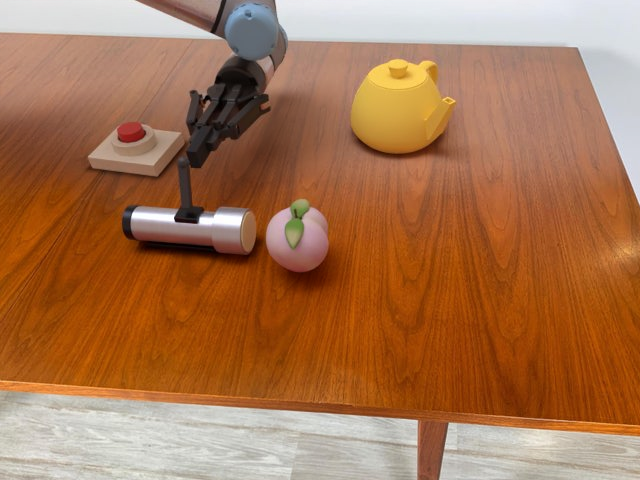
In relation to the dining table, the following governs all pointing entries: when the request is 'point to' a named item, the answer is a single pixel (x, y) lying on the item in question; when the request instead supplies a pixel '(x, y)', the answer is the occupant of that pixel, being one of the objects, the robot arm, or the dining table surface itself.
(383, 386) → the dining table surface
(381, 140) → the teapot
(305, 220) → the decorative fruit
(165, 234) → the flashlight
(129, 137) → the dock button
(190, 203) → the flashlight switch
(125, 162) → the beige dock base
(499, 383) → the dining table surface
